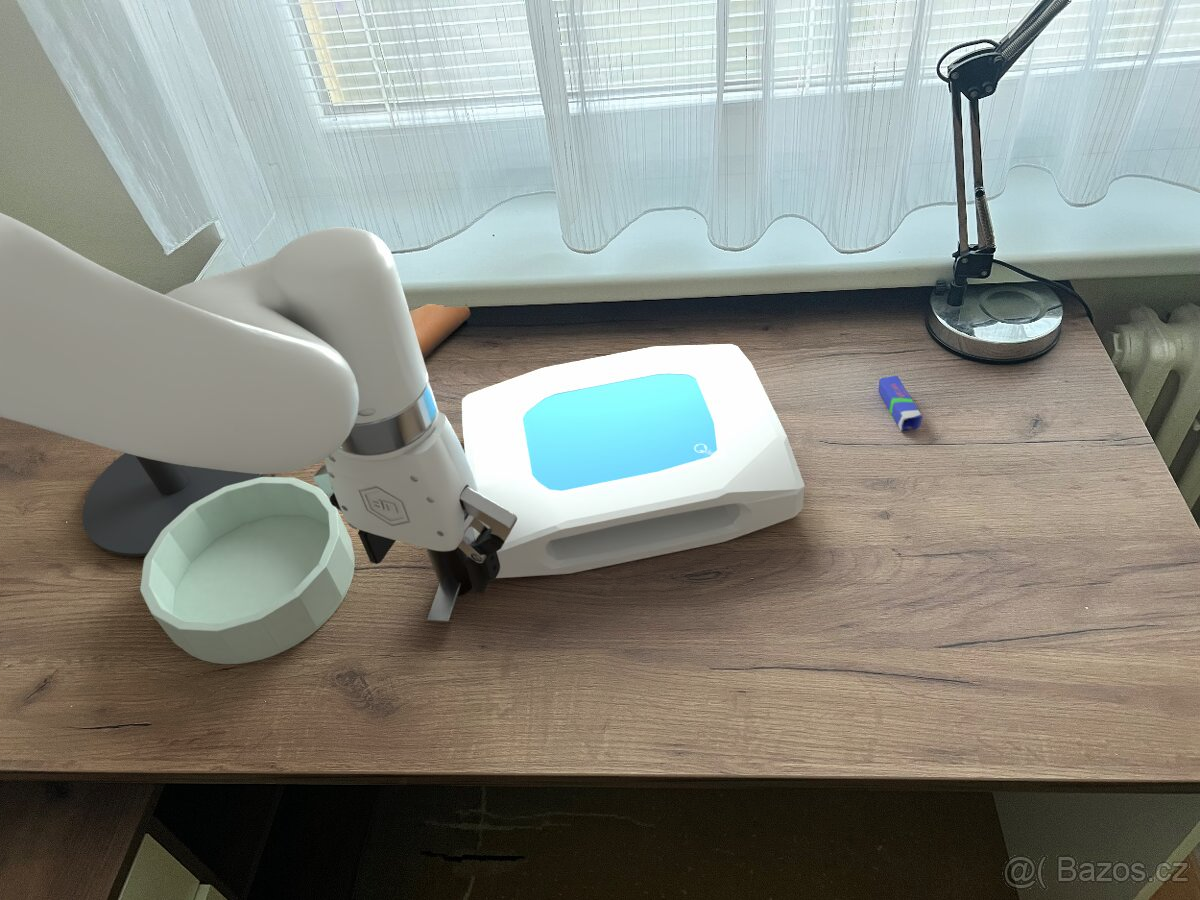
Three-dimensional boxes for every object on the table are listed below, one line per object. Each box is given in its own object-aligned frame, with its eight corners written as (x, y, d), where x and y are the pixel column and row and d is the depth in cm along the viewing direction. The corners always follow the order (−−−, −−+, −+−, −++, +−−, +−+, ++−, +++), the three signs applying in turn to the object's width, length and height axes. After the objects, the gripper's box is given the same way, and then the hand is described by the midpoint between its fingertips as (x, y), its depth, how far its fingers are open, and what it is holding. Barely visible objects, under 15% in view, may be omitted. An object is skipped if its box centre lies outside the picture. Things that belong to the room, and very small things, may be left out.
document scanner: (470, 429, 90) (458, 382, 86) (735, 377, 91) (735, 329, 87) (488, 591, 75) (473, 545, 71) (803, 526, 76) (808, 477, 72)
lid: (115, 593, 79) (72, 539, 74) (67, 488, 90) (26, 435, 84) (294, 494, 86) (266, 438, 80) (230, 408, 96) (201, 353, 91)
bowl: (205, 702, 70) (178, 668, 66) (143, 578, 80) (116, 543, 76) (387, 588, 76) (371, 552, 73) (308, 486, 86) (291, 450, 83)
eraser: (899, 433, 83) (902, 417, 82) (876, 393, 88) (879, 377, 86) (919, 430, 83) (923, 414, 82) (896, 390, 88) (899, 374, 86)
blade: (459, 632, 72) (440, 581, 67) (425, 630, 73) (403, 579, 68) (488, 538, 79) (472, 486, 74) (456, 537, 80) (438, 485, 75)
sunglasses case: (416, 302, 106) (427, 267, 101) (462, 337, 106) (475, 304, 101) (316, 392, 96) (323, 359, 90) (368, 431, 96) (377, 400, 91)
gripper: (243, 419, 60) (321, 573, 72) (464, 471, 54) (509, 629, 66) (308, 353, 65) (370, 508, 77) (516, 395, 59) (549, 555, 71)
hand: (434, 564), depth 71 cm, fingers open, 9 cm apart
